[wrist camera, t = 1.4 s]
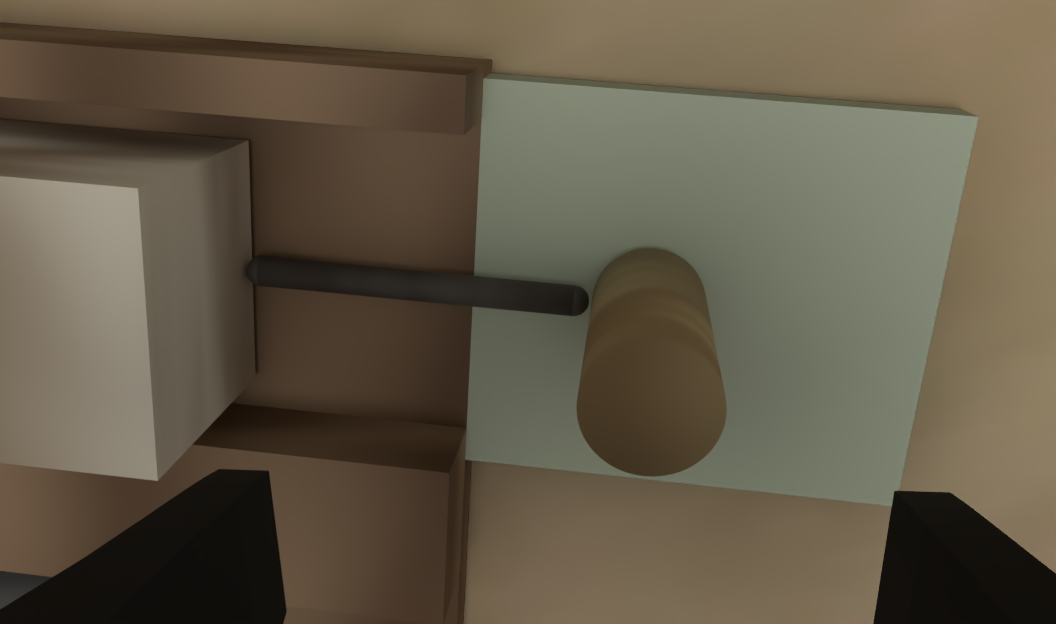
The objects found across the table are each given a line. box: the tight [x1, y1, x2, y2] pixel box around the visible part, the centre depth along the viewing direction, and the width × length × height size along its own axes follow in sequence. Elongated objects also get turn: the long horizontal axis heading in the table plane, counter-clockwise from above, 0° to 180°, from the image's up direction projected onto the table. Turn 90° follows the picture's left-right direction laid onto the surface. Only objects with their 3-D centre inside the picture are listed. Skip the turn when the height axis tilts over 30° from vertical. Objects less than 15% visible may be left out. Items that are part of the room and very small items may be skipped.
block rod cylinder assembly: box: [0, 119, 727, 481], centre depth 18 cm, size 15×5×5 cm, turn 86°
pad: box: [465, 73, 978, 506], centre depth 20 cm, size 9×8×1 cm
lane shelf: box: [0, 23, 492, 624], centre depth 22 cm, size 12×18×3 cm, turn 176°
